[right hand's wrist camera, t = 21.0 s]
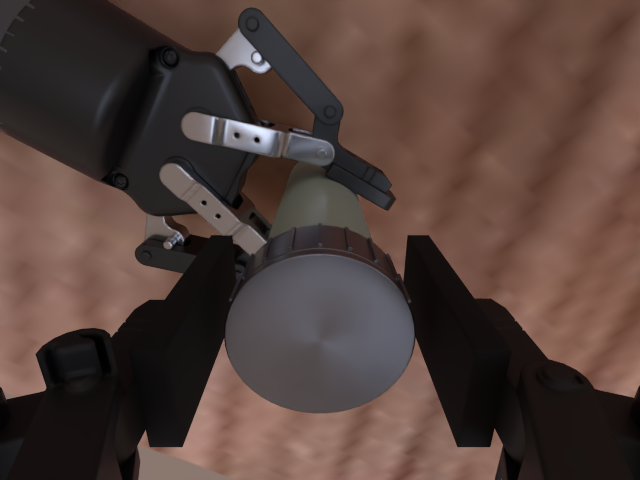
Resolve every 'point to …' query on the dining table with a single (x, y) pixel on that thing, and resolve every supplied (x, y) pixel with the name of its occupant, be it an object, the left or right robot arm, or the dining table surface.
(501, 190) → the dining table surface
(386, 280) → the lid
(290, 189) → the grey-green rounded cylinder
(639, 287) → the dining table surface
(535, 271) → the dining table surface
